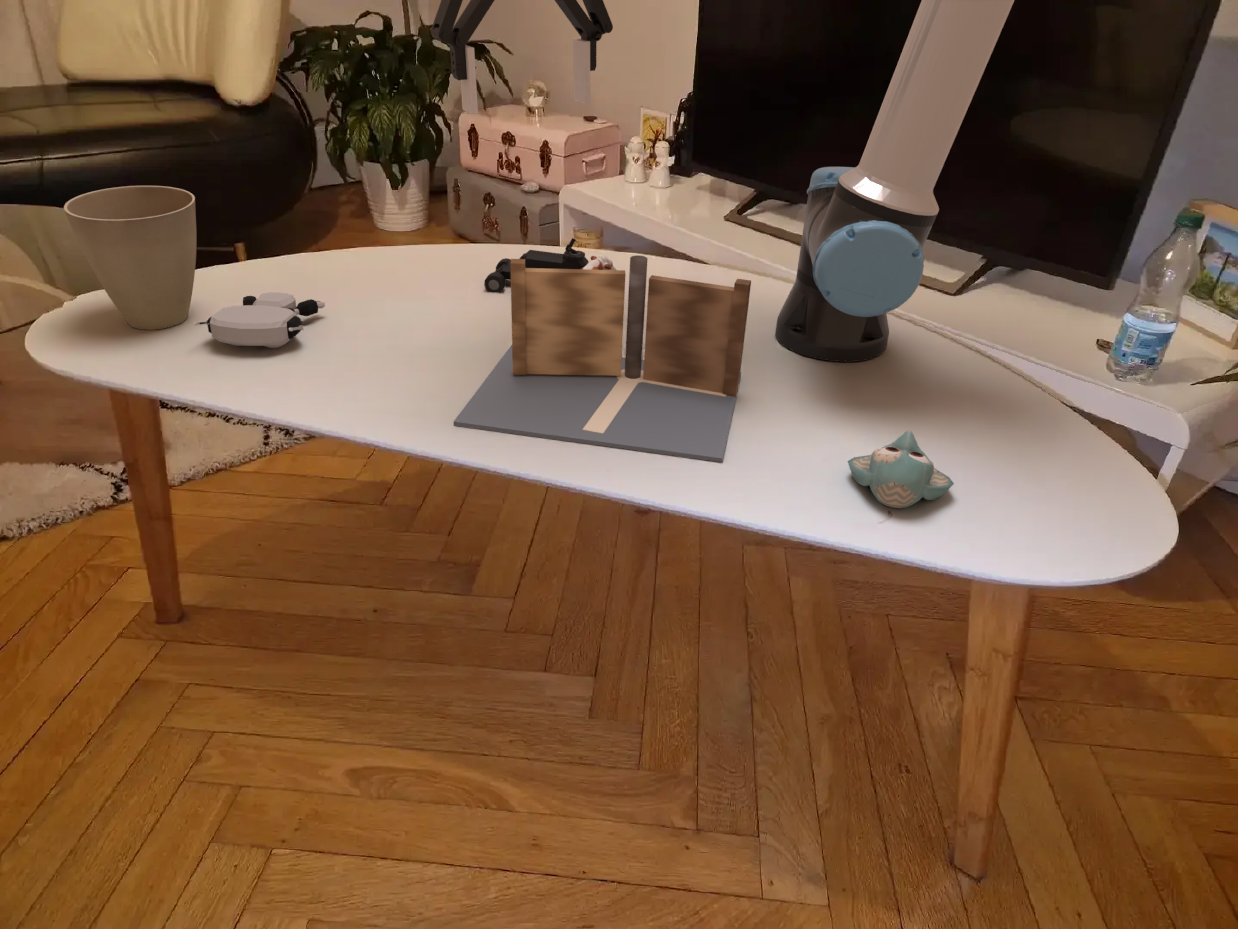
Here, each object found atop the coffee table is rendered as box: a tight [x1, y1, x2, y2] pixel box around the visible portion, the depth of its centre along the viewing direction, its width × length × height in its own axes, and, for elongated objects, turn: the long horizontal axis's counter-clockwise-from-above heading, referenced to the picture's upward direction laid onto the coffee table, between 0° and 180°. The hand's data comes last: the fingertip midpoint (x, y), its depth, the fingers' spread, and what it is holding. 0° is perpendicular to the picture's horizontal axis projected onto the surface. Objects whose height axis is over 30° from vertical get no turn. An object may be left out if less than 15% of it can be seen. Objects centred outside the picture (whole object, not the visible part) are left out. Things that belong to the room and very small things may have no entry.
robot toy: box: [193, 292, 326, 349], centre depth 122 cm, size 12×4×15 cm
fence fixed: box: [624, 255, 752, 398], centre depth 110 cm, size 14×2×16 cm, turn 73°
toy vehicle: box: [483, 237, 590, 294], centre depth 140 cm, size 8×15×9 cm, turn 82°
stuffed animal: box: [847, 430, 955, 509], centre depth 95 cm, size 11×7×12 cm
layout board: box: [453, 344, 742, 463], centre depth 110 cm, size 30×22×1 cm
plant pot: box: [63, 185, 197, 331], centre depth 121 cm, size 15×15×16 cm
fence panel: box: [510, 258, 626, 376], centre depth 111 cm, size 13×2×14 cm, turn 93°
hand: (527, 107), depth 104 cm, fingers open, 13 cm apart
